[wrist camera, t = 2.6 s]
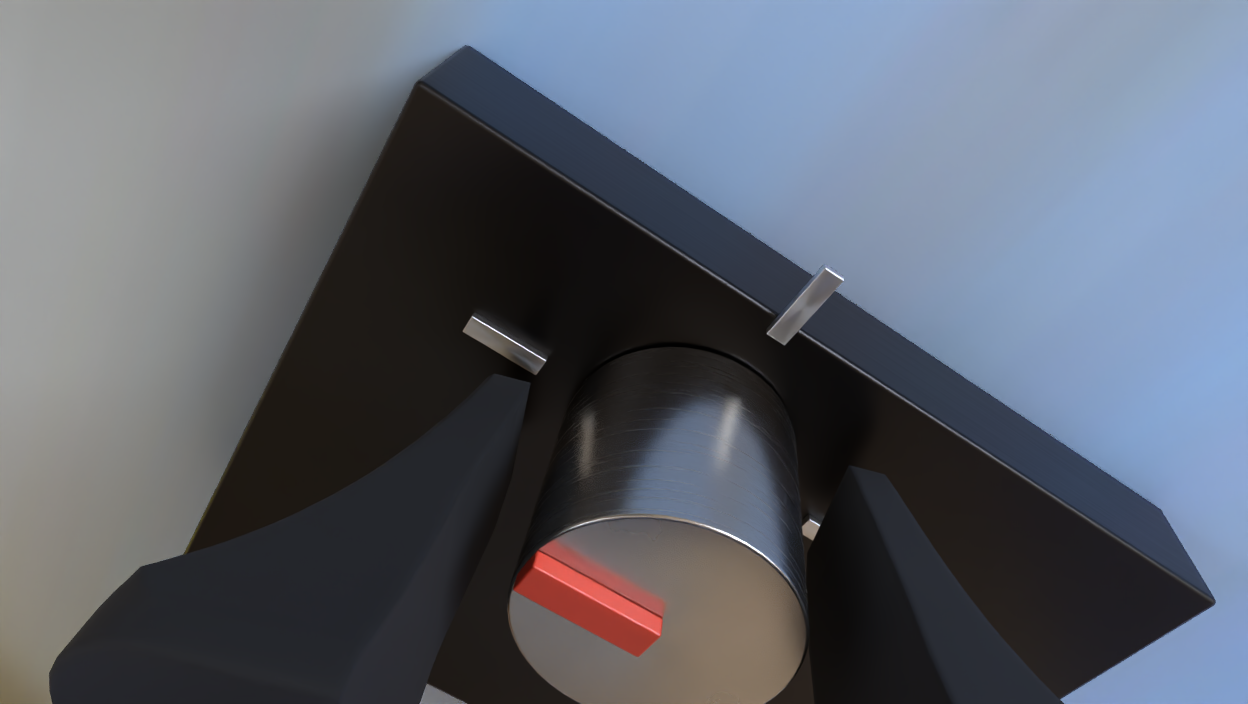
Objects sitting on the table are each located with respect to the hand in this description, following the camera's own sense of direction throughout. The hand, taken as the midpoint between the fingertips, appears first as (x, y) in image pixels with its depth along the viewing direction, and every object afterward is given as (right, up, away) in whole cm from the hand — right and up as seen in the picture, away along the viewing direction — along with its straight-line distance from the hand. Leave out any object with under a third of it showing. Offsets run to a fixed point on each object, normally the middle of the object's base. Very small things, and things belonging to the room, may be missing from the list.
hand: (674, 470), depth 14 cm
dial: (0, 0, +1) cm, 1 cm away
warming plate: (0, -1, +4) cm, 5 cm away
